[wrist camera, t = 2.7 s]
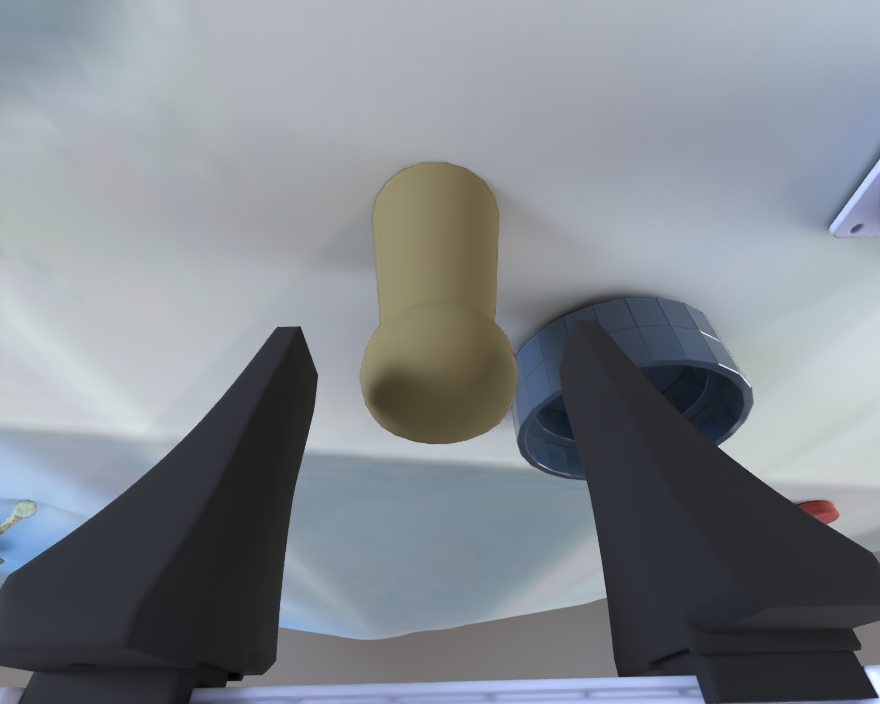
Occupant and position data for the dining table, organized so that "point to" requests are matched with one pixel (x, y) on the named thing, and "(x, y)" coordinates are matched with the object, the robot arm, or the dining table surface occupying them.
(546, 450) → the dark blue bowl
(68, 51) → the dining table surface
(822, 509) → the popsicle
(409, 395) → the cork
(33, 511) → the soupspoon
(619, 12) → the dining table surface
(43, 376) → the dining table surface
